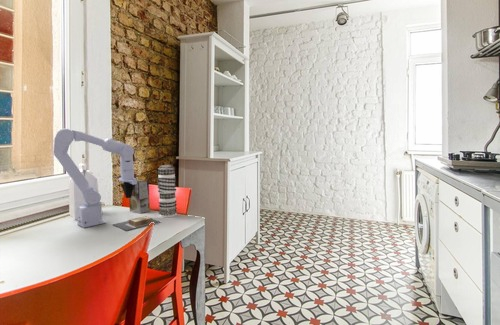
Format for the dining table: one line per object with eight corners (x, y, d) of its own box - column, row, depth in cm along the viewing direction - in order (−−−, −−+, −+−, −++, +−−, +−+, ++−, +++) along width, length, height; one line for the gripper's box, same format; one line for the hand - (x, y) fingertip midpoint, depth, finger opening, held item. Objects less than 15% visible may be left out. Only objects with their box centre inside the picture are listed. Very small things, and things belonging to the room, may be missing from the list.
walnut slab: (128, 224, 130) (135, 226, 126) (128, 219, 130) (135, 222, 126) (145, 220, 136) (152, 222, 132) (145, 215, 136) (152, 218, 132)
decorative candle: (155, 217, 143) (152, 166, 141) (163, 212, 152) (162, 164, 150) (172, 217, 141) (170, 166, 139) (180, 212, 150) (178, 164, 148)
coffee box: (150, 210, 156) (149, 180, 154) (140, 213, 150) (138, 182, 149) (139, 208, 160) (138, 179, 159) (129, 211, 155) (127, 181, 154)
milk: (69, 215, 149) (65, 164, 147) (94, 211, 156) (91, 162, 154) (74, 219, 140) (71, 165, 138) (100, 215, 148) (97, 164, 145)
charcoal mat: (126, 231, 122) (126, 230, 122) (112, 225, 130) (112, 224, 130) (160, 222, 134) (160, 221, 134) (145, 217, 142) (145, 216, 142)
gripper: (142, 170, 138) (143, 198, 139) (128, 168, 148) (129, 194, 149) (128, 171, 133) (129, 201, 134) (114, 169, 142) (115, 196, 144)
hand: (128, 197), depth 141 cm, fingers closed
